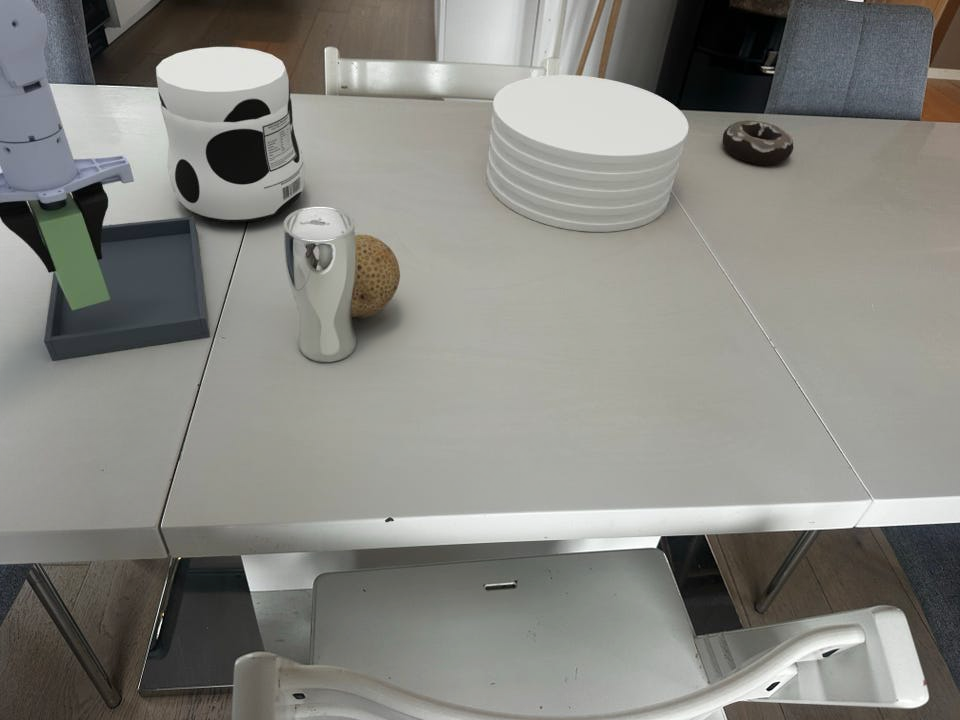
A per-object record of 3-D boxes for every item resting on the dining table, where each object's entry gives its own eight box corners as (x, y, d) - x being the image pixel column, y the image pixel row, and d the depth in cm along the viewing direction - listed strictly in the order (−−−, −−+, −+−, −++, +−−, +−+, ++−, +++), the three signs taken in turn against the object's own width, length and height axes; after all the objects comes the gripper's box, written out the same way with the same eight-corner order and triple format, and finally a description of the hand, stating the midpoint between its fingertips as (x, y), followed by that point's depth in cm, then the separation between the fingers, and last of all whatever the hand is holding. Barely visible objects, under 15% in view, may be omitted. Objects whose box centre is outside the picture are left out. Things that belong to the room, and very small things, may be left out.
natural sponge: (371, 351, 77) (369, 274, 70) (302, 324, 79) (294, 248, 73) (412, 308, 83) (414, 234, 76) (348, 285, 85) (345, 211, 79)
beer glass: (325, 316, 81) (316, 197, 71) (373, 340, 78) (371, 220, 68) (281, 348, 76) (265, 224, 66) (331, 374, 73) (322, 250, 64)
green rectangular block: (72, 310, 70) (31, 202, 62) (59, 284, 73) (18, 177, 65) (110, 299, 72) (75, 193, 64) (96, 274, 75) (60, 169, 67)
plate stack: (699, 187, 112) (721, 116, 104) (605, 255, 95) (623, 176, 87) (555, 129, 124) (565, 61, 116) (448, 180, 107) (452, 105, 99)
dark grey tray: (52, 360, 72) (43, 341, 70) (65, 248, 86) (58, 230, 85) (210, 337, 76) (205, 318, 75) (197, 234, 91) (193, 216, 89)
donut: (800, 168, 120) (810, 146, 117) (736, 168, 118) (744, 146, 115) (769, 138, 128) (777, 117, 125) (709, 138, 126) (715, 116, 123)
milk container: (179, 173, 102) (151, 43, 90) (303, 168, 106) (291, 43, 94) (172, 238, 90) (138, 97, 78) (312, 229, 94) (299, 94, 82)
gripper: (-67, 166, 55) (-2, 304, 64) (127, 130, 62) (161, 260, 71) (-80, 131, 59) (-17, 266, 68) (104, 101, 66) (139, 227, 75)
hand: (73, 261), depth 70 cm, fingers closed on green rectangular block, 3 cm apart
